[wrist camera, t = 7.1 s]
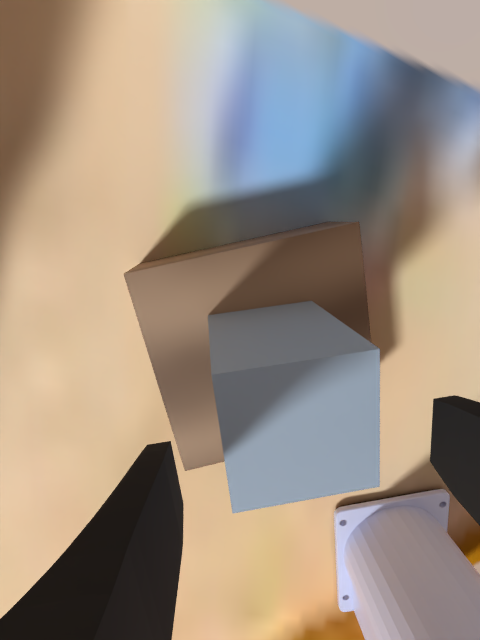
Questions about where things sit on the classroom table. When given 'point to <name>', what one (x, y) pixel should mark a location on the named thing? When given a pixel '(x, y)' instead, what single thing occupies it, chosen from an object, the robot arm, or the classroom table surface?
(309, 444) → the grey block
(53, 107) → the classroom table surface
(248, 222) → the classroom table surface
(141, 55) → the classroom table surface
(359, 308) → the walnut base
